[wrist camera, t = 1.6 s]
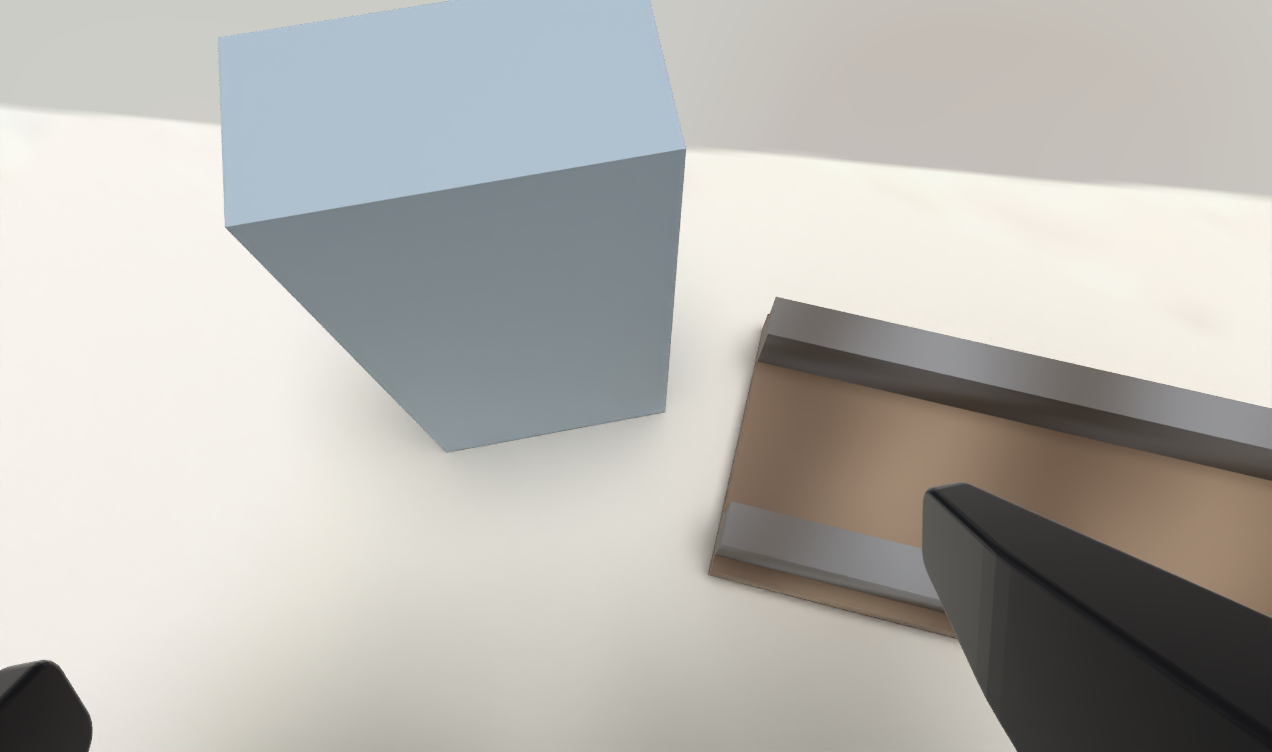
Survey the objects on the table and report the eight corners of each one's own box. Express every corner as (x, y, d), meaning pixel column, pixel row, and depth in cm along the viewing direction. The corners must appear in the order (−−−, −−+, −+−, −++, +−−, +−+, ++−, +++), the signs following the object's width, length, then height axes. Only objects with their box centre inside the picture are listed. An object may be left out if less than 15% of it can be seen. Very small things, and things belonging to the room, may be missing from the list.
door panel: (446, 452, 23) (224, 226, 11) (433, 349, 23) (217, 37, 12) (665, 411, 23) (685, 148, 11) (644, 311, 24) (643, -30, 12)
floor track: (708, 574, 21) (718, 562, 19) (762, 327, 24) (779, 282, 21) (1276, 720, 20) (1379, 731, 17) (1279, 445, 22) (1372, 415, 19)
